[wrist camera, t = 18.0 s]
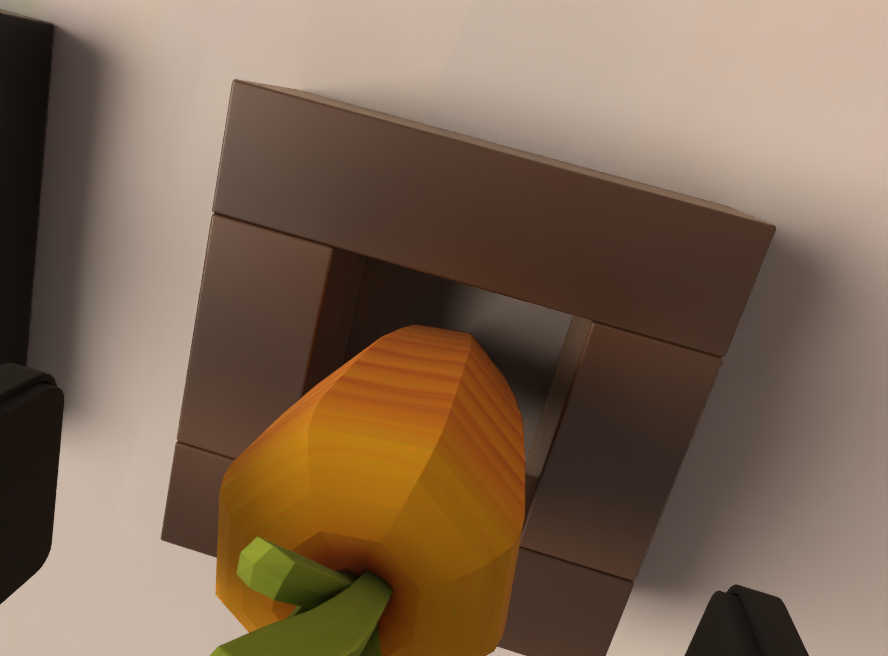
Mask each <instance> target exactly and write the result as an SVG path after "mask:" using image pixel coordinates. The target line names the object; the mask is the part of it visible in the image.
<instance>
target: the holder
mask: <svg viewBox="0 0 888 656" xmlns="http://www.w3.org/2000/svg"><path fill="white" fill-rule="evenodd" d="M212 211H213V212H214V214H213V215H212V218H211V224H210V230H209V237H208V243H207V249H206V256H205V262H204V269H203V275H202V281H201V288H200V294H199V300H198V307H197V313H196V319H195V326H194V332H193V339H192V345H191V351H190V358H189V364H188V370H187V377H186V383H185V389H184V396H183V402H182V409H181V415H180V421H179V428H178V434H177V442H176V445H175V451H174V458H173V464H172V470H171V477H170V483H169V489H168V496H167V502H166V509H165V515H164V521H163V528H162V534H161V540H163V541H166V542H169V543H172V544H175V545H178V546H182V547H185V548H188V549H191V550H194V551H197V552H201V553H204V554H207V555H210V556H213V557H216V558H217V543H218V516H219V491H220V487H221V484H222V481H223V477H224V474H225V473H226V471H227V470H228V468H229V467H230V465H231V464H232V463H233V461H234V460H235V459H236V458H237V457H238V456H240V455H241V454H242V453H243V452H244V451H245V450H246V449H247V448H248V447H249V446H250V445H251V444H252V443H253V442H254V441H255V440H256V439H257V438H258V437H259V436H260V435H261V434H262V433H263V432H264V431H265V430H266V429H268V428H269V427H270V426H271V425H272V424H273V423H274V422H275V421H276V420H277V419H278V418H279V417H280V416H281V415H282V414H283V413H285V412H286V411H287V410H288V409H289V408H290V407H292V406H293V405H294V404H295V403H296V402H297V401H299V400H300V399H301V398H302V397H303V396H304V395H305V394H307V393H308V392H309V391H310V390H311V389H312V388H314V387H315V386H316V385H317V384H318V383H320V382H321V381H323V380H324V379H325V378H327V377H328V376H329V375H331V374H332V373H333V372H335V371H336V370H337V369H339V368H340V367H341V366H343V363H344V359H345V355H346V350H347V346H348V341H349V337H350V333H351V328H352V324H353V319H354V315H355V311H356V306H357V302H358V297H359V293H360V289H361V284H362V280H363V275H364V271H365V267H366V262H367V258H368V257H371V258H374V259H378V260H381V261H385V262H389V263H392V264H396V265H399V266H403V267H406V268H410V269H413V270H417V271H420V272H424V273H427V274H431V275H434V276H438V277H441V278H445V279H448V280H452V281H455V282H459V283H462V284H466V285H469V286H473V287H476V288H480V289H483V290H487V291H490V292H494V293H497V294H501V295H504V296H508V297H512V298H515V299H519V300H522V301H526V302H529V303H533V304H536V305H540V306H543V307H547V308H550V309H554V310H557V311H561V312H564V313H568V314H571V315H573V318H572V321H571V324H570V327H569V331H568V334H567V337H566V340H565V343H564V346H563V349H562V352H561V355H560V358H559V361H558V364H557V367H556V371H555V374H554V377H553V380H552V383H551V386H550V389H549V392H548V395H547V398H546V401H545V404H544V408H543V411H542V414H541V417H540V420H539V423H538V426H537V429H536V432H535V435H534V438H533V441H532V445H531V448H530V451H529V454H528V457H527V460H526V463H525V516H524V522H523V528H522V534H521V539H520V545H519V551H518V556H517V562H516V568H515V573H514V579H513V585H512V590H511V596H510V602H509V607H508V613H507V619H506V624H505V628H504V632H503V637H502V638H501V640H500V642H499V644H498V645H497V647H500V648H504V649H507V650H510V651H513V652H516V653H519V654H523V655H526V656H606V654H607V651H608V649H609V646H610V644H611V641H612V639H613V636H614V634H615V631H616V629H617V626H618V624H619V621H620V619H621V616H622V614H623V611H624V609H625V606H626V604H627V601H628V599H629V596H630V594H631V591H632V589H633V586H634V581H635V580H636V578H637V575H638V573H639V570H640V568H641V565H642V563H643V560H644V558H645V555H646V553H647V550H648V548H649V545H650V543H651V540H652V538H653V535H654V533H655V530H656V528H657V525H658V523H659V520H660V518H661V515H662V513H663V510H664V508H665V505H666V503H667V500H668V498H669V495H670V493H671V490H672V488H673V485H674V483H675V480H676V478H677V475H678V473H679V470H680V468H681V465H682V463H683V460H684V458H685V455H686V453H687V450H688V448H689V445H690V443H691V440H692V438H693V435H694V433H695V430H696V428H697V425H698V423H699V420H700V418H701V415H702V413H703V410H704V408H705V405H706V403H707V400H708V398H709V395H710V393H711V390H712V388H713V385H714V383H715V380H716V378H717V375H718V373H719V370H720V367H721V365H722V362H723V358H722V357H725V356H726V353H727V351H728V348H729V346H730V343H731V341H732V338H733V336H734V333H735V331H736V328H737V326H738V323H739V321H740V318H741V316H742V313H743V311H744V308H745V306H746V303H747V301H748V298H749V296H750V293H751V291H752V288H753V286H754V283H755V281H756V278H757V276H758V273H759V271H760V268H761V266H762V263H763V261H764V258H765V256H766V253H767V251H768V248H769V246H770V243H771V241H772V238H773V236H774V233H775V231H776V227H775V226H774V225H772V224H769V223H767V222H765V221H762V220H760V219H757V218H755V217H752V216H750V215H748V214H745V213H743V212H740V211H738V210H735V209H733V208H731V207H728V206H724V205H721V204H717V203H713V202H710V201H706V200H702V199H698V198H695V197H691V196H687V195H684V194H680V193H676V192H673V191H669V190H665V189H662V188H658V187H654V186H650V185H647V184H643V183H639V182H636V181H632V180H628V179H625V178H621V177H617V176H614V175H610V174H606V173H603V172H599V171H595V170H591V169H588V168H584V167H580V166H577V165H573V164H569V163H566V162H562V161H558V160H555V159H551V158H547V157H543V156H540V155H536V154H532V153H529V152H525V151H521V150H518V149H514V148H510V147H507V146H503V145H499V144H495V143H492V142H488V141H484V140H481V139H477V138H473V137H470V136H466V135H462V134H459V133H455V132H451V131H448V130H444V129H440V128H436V127H433V126H429V125H425V124H422V123H418V122H414V121H411V120H407V119H403V118H400V117H396V116H392V115H388V114H385V113H381V112H377V111H374V110H370V109H366V108H363V107H359V106H355V105H352V104H348V103H344V102H340V101H337V100H333V99H329V98H326V97H322V96H318V95H315V94H311V93H307V92H304V91H300V90H296V89H290V88H285V87H279V86H273V85H267V84H261V83H255V82H249V81H243V80H237V79H235V80H233V82H232V87H231V94H230V100H229V107H228V113H227V119H226V126H225V132H224V138H223V145H222V151H221V158H220V164H219V170H218V177H217V183H216V189H215V196H214V202H213V209H212Z"/></svg>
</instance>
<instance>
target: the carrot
mask: <svg viewBox="0 0 888 656" xmlns="http://www.w3.org/2000/svg"><path fill="white" fill-rule="evenodd" d="M524 516H525V447H524V430H523V419H522V416H521V413H520V411H519V408H518V405H517V402H516V399H515V397H514V395H513V393H512V391H511V389H510V387H509V385H508V383H507V381H506V379H505V377H504V375H503V374H502V373H501V371H500V370H499V369H498V368H497V366H496V365H495V364H494V362H493V361H492V360H491V359H490V357H489V356H488V355H487V353H486V352H485V351H484V349H483V348H482V347H481V346H480V344H479V343H478V342H477V340H476V339H475V338H474V336H473V335H472V334H471V333H467V332H461V331H454V330H448V329H442V328H435V327H429V326H423V325H417V324H415V325H411V326H408V327H404V328H400V329H398V330H396V331H394V332H391V333H389V334H387V335H385V336H382V337H381V338H379V339H378V340H377V341H375V342H374V343H373V344H371V345H370V346H369V347H367V348H366V349H364V350H363V351H362V352H360V353H359V354H358V355H356V356H355V357H354V358H352V359H351V360H350V361H348V362H347V363H346V364H344V365H343V366H341V367H340V368H339V369H337V370H336V371H335V372H333V373H332V374H331V375H329V376H328V377H327V378H325V379H324V380H323V381H321V382H320V383H318V384H317V385H316V386H315V387H314V388H312V389H311V390H310V391H309V392H308V393H307V394H305V395H304V396H303V397H302V398H301V399H300V400H299V401H297V402H296V403H295V404H294V405H293V406H292V407H290V408H289V409H288V410H287V411H286V412H285V413H283V414H282V415H281V416H280V417H279V418H278V419H277V420H276V421H275V422H274V423H273V424H272V425H271V426H270V427H269V428H268V429H266V430H265V431H264V432H263V433H262V434H261V435H260V436H259V437H258V438H257V439H256V440H255V441H254V442H253V443H252V444H251V445H250V446H249V447H248V448H247V449H246V450H245V451H244V452H243V453H242V454H241V455H240V456H238V457H237V458H236V459H235V460H234V461H233V463H232V464H231V465H230V467H229V468H228V470H227V471H226V473H225V474H224V477H223V481H222V484H221V487H220V491H219V516H218V543H217V570H216V595H217V597H218V598H219V599H220V600H221V601H222V602H223V604H224V605H225V606H226V607H227V608H228V609H229V610H230V612H231V613H232V614H233V615H234V616H235V617H236V618H237V619H238V621H239V622H240V623H241V624H242V625H243V626H244V627H245V629H246V630H247V631H248V632H249V633H248V634H246V635H243V636H241V637H239V638H237V639H234V640H232V641H230V642H228V643H225V644H223V645H221V646H219V647H217V648H216V649H215V650H214V652H213V653H212V654H211V655H210V656H486V655H488V654H490V653H492V652H493V651H494V650H495V649H496V647H497V645H498V644H499V642H500V640H501V638H502V637H503V632H504V628H505V624H506V619H507V613H508V607H509V602H510V596H511V590H512V585H513V579H514V573H515V568H516V562H517V556H518V551H519V545H520V539H521V534H522V528H523V522H524Z"/></svg>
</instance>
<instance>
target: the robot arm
mask: <svg viewBox="0 0 888 656" xmlns="http://www.w3.org/2000/svg"><path fill="white" fill-rule="evenodd" d="M63 409H64V394H63V391H62V390H61V389H60V388H58V387H57V384H56V381H55V378H54V377H53V376H52V375H50V374H47V373H44V372H41V371H38V370H34V369H31V368H28V367H25V366H21V365H18V364H14V363H7V364H4V365H1V366H0V604H1V603H2V602H4V601H5V600H6V599H7V598H8V597H9V596H10V595H12V594H13V593H14V592H15V591H16V590H17V589H18V588H19V587H21V586H22V585H23V584H24V583H25V582H26V581H27V580H29V579H30V578H31V577H32V576H33V575H34V574H35V573H36V572H37V571H38V570H39V569H40V568H41V567H42V565H43V564H44V563H45V561H46V559H47V557H48V555H49V552H50V550H51V545H52V534H53V523H54V511H55V500H56V489H57V477H58V466H59V454H60V443H61V431H62V420H63ZM685 656H809V655H808V653H807V651H806V649H805V647H804V644H803V642H802V640H801V638H800V636H799V634H798V632H797V630H796V628H795V625H794V623H793V621H792V619H791V617H790V615H789V613H788V611H787V609H786V606H785V604H784V603H783V601H782V600H781V599H780V598H778V597H776V596H773V595H769V594H766V593H763V592H759V591H756V590H753V589H750V588H746V587H743V586H740V585H737V584H736V585H733V586H731V587H730V588H729V589H728V591H727V592H726V593H725V592H722V591H716V592H715V593H714V594H713V595H712V597H711V599H710V601H709V603H708V605H707V608H706V610H705V612H704V614H703V616H702V619H701V621H700V623H699V625H698V627H697V630H696V632H695V634H694V636H693V638H692V641H691V643H690V645H689V647H688V649H687V652H686V654H685Z"/></svg>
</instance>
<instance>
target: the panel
mask: <svg viewBox="0 0 888 656" xmlns="http://www.w3.org/2000/svg"><path fill="white" fill-rule="evenodd" d="M53 31H54V25H53V24H52V23H49V22H45V21H42V20H38V19H34V18H30V17H27V16H23V15H19V14H16V13H12V12H8V11H5V10H1V9H0V366H1V365H4V364H7V363H14V364H18V365H21V366H25V367H26V356H27V344H28V332H29V320H30V308H31V296H32V284H33V272H34V260H35V248H36V236H37V224H38V212H39V200H40V188H41V176H42V164H43V152H44V139H45V127H46V115H47V103H48V91H49V79H50V67H51V55H52V43H53Z"/></svg>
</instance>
